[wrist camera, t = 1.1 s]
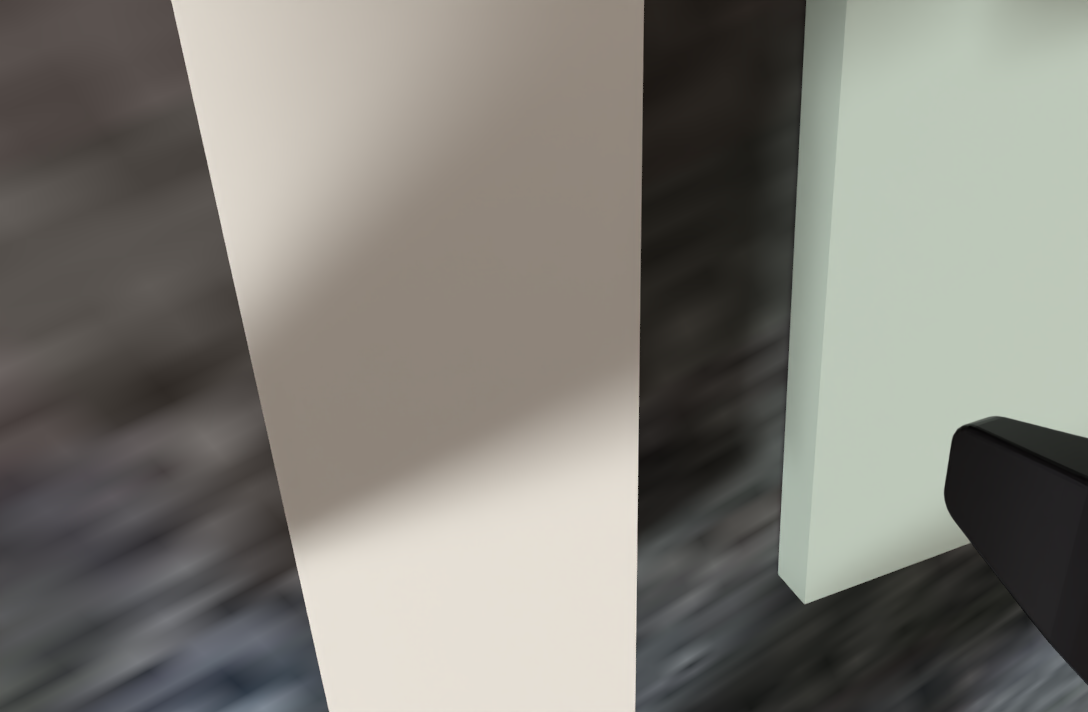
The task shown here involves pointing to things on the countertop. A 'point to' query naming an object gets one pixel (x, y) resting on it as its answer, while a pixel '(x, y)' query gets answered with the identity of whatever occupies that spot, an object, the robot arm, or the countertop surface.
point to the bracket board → (928, 265)
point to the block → (442, 330)
